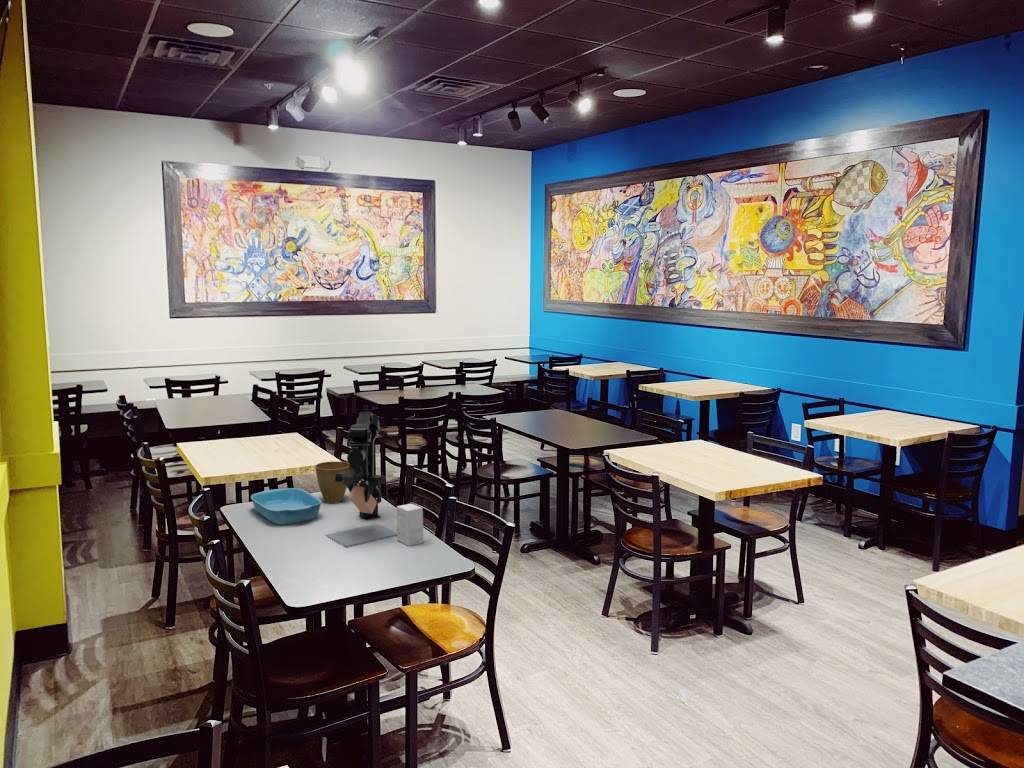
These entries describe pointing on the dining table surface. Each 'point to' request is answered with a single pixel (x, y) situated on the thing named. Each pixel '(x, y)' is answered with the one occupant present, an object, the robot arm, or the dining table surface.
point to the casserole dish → (286, 505)
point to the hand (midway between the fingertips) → (360, 501)
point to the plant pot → (331, 480)
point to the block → (362, 500)
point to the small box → (410, 524)
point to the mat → (362, 535)
